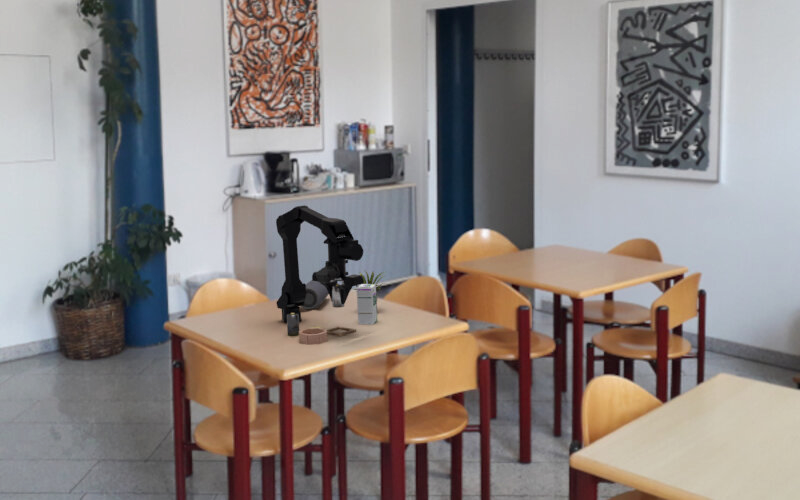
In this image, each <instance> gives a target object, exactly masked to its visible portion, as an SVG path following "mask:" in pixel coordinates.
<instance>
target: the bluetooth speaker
mask: <svg viewBox="0 0 800 500" xmlns="http://www.w3.org/2000/svg"><path fill="white" fill-rule="evenodd" d="M305 285H306V293H307V295H306V298H305V302H304V306H300V308H303V309H304V310H313V309H317V308H319V307H320V306H321V305H322V303H323V302H325V300H326V298H327V297H328V296H329V293H328V291H327V289H326V287H325V286H324V285H322V284H321V282H318V281H312V279H311V280H310V281H308V282H307V283H305Z"/></svg>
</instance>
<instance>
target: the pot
mask: <svg viewBox="0 0 800 500" xmlns="http://www.w3.org/2000/svg"><path fill="white" fill-rule="evenodd" d="M326 330H327V328H323V329H322V328H310V327H307V328H304V329H299V336H298V338H299V340H298V343H300V344H305V345H318V344H322V343H326V342H328V334H327V331H326Z"/></svg>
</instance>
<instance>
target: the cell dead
mask: <svg viewBox="0 0 800 500" xmlns="http://www.w3.org/2000/svg"><path fill="white" fill-rule="evenodd" d="M286 326H287V327H286V328H287V334H288V336H297V337H299V331H300V322H299V314H296V313H291V314H287V323H286ZM288 336H287V337H288Z"/></svg>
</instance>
